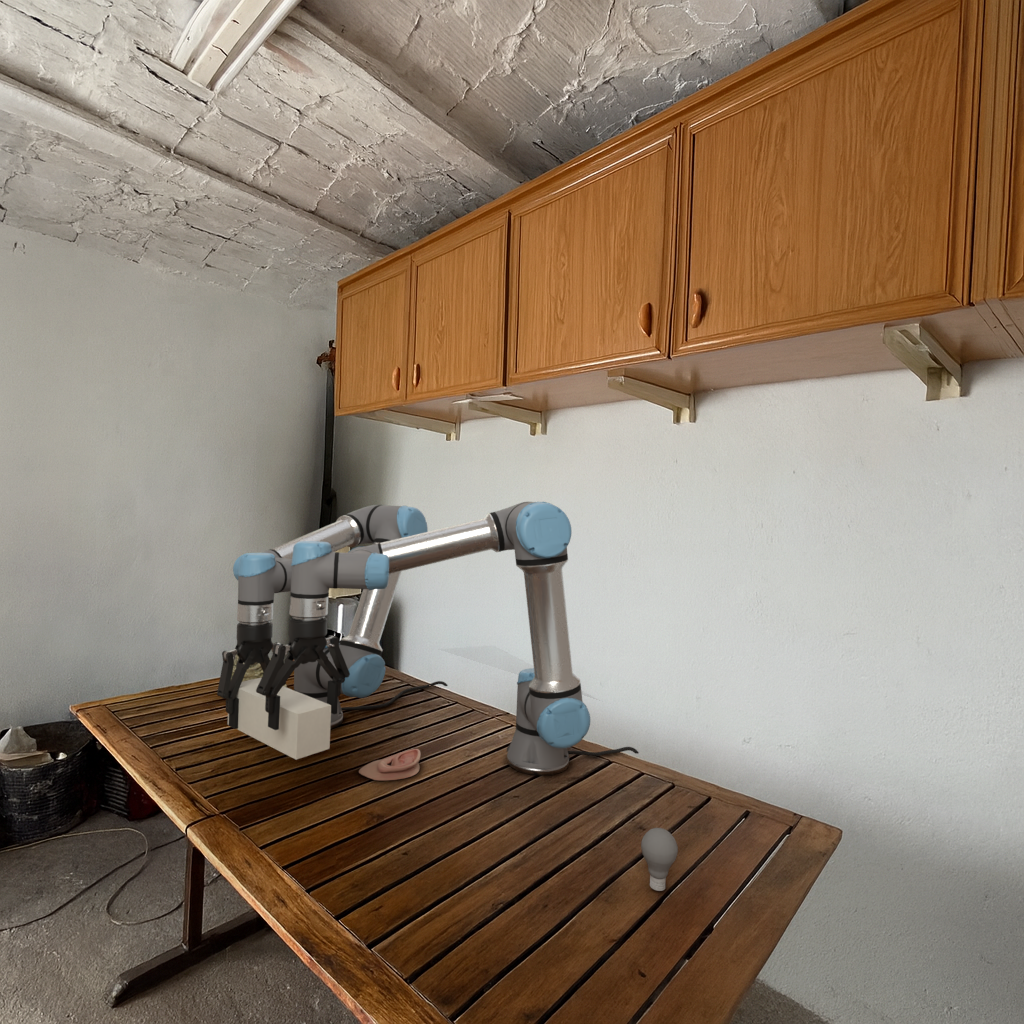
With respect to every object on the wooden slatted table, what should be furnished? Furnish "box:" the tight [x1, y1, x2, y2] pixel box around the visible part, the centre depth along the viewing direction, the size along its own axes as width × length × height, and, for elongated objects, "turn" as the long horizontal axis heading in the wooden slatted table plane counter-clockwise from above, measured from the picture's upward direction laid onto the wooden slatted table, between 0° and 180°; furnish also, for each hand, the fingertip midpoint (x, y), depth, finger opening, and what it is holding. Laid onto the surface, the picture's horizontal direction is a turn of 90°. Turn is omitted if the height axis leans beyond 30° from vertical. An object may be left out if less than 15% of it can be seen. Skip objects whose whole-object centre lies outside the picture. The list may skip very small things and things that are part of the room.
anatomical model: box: [358, 748, 422, 782], centre depth 147 cm, size 13×4×12 cm
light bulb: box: [640, 827, 679, 892], centre depth 106 cm, size 6×6×10 cm
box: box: [227, 678, 331, 761], centre depth 136 cm, size 27×8×9 cm, turn 51°
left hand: (251, 722), depth 143 cm, fingers closed on box, 8 cm apart
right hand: (303, 720), depth 130 cm, fingers open, 13 cm apart
